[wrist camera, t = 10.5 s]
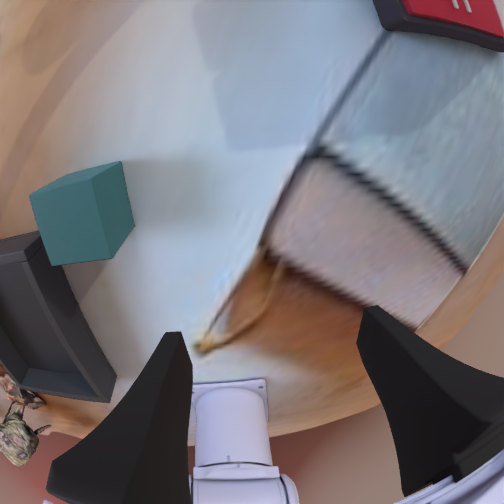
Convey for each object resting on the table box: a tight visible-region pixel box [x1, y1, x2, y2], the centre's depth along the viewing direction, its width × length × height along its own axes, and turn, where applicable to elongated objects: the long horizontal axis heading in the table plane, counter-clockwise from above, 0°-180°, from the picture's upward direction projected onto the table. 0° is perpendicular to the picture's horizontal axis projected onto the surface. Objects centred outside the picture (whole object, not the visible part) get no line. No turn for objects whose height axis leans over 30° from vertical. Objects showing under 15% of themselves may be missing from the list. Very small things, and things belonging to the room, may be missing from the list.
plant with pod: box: [0, 373, 51, 467], centre depth 18 cm, size 8×11×20 cm
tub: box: [0, 231, 117, 403], centre depth 19 cm, size 17×14×4 cm
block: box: [29, 161, 135, 266], centre depth 15 cm, size 4×4×4 cm
